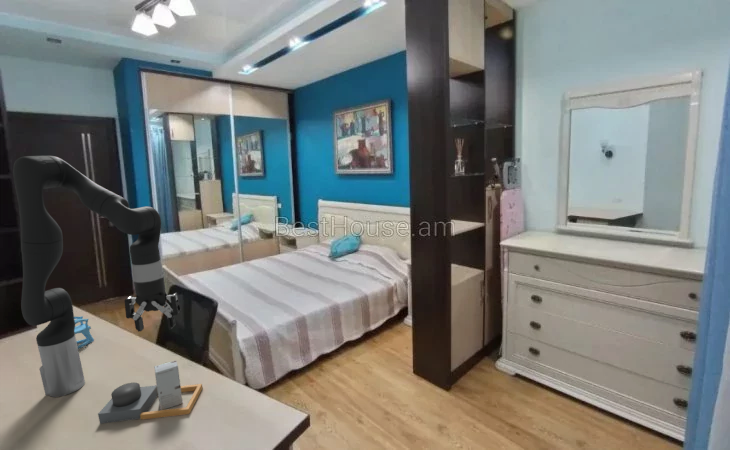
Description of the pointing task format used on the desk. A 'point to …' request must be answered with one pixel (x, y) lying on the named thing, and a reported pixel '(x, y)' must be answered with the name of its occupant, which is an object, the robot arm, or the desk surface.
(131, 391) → the dome slab with frame
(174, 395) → the skincare box
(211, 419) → the desk surface
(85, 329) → the chair
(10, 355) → the desk surface
